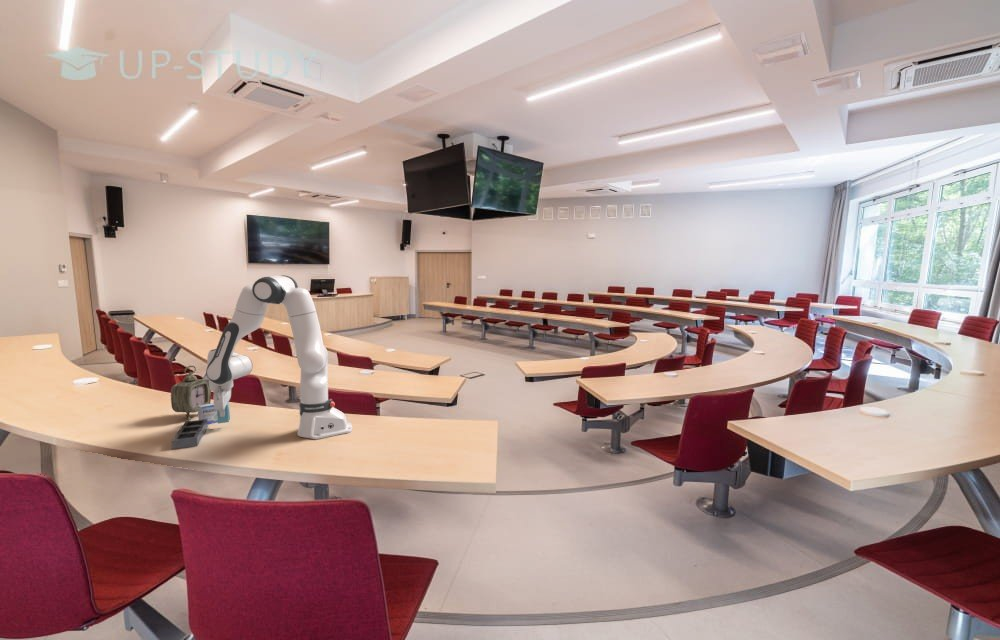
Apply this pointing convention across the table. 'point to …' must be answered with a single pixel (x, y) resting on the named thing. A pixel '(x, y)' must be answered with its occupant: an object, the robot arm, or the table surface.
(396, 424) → the table surface
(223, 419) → the clip
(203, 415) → the medicine box
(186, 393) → the tabletop clock
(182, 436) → the grey rectangular piece
